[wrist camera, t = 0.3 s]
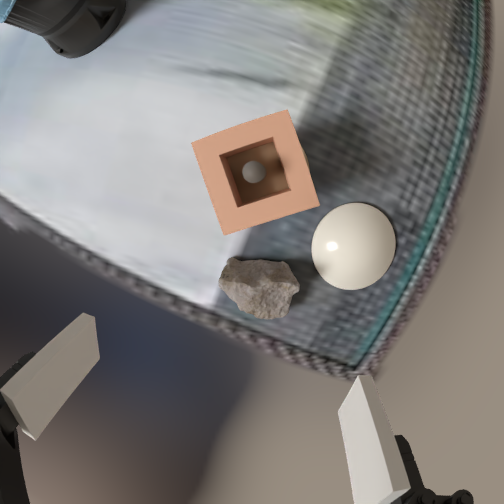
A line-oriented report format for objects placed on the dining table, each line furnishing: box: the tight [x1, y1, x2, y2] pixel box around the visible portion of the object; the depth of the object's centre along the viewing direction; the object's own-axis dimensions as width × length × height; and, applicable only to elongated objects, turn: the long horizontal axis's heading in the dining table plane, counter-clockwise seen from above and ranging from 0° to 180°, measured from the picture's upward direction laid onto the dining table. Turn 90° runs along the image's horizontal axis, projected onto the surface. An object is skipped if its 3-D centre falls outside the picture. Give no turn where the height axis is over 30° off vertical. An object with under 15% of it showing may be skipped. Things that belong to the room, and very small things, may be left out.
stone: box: [219, 257, 300, 319], centre depth 36 cm, size 8×10×6 cm
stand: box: [227, 142, 310, 203], centre depth 28 cm, size 12×12×13 cm
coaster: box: [311, 203, 395, 290], centre depth 36 cm, size 12×12×1 cm
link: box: [191, 110, 320, 235], centre depth 26 cm, size 9×9×4 cm
